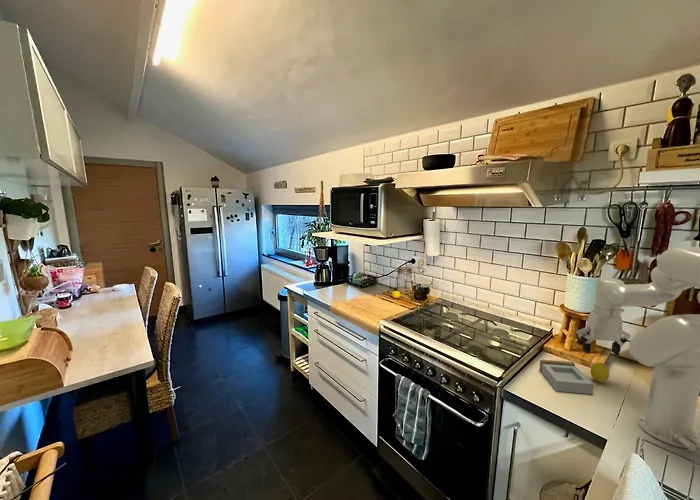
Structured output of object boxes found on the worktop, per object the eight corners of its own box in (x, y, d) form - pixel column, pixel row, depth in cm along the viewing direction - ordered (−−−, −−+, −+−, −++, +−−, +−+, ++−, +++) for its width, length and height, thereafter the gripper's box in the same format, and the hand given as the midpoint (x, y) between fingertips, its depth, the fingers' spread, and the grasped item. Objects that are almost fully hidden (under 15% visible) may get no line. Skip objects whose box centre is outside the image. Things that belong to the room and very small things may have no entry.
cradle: (592, 394, 106) (593, 384, 106) (556, 390, 109) (557, 381, 108) (574, 375, 118) (575, 366, 117) (541, 372, 120) (542, 363, 120)
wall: (573, 375, 118) (575, 364, 118) (541, 372, 121) (542, 361, 120) (571, 373, 120) (572, 361, 119) (539, 370, 122) (540, 359, 121)
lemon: (612, 386, 111) (614, 366, 110) (597, 386, 111) (599, 366, 110) (600, 377, 117) (602, 359, 115) (586, 377, 117) (588, 359, 115)
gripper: (626, 308, 112) (619, 349, 115) (575, 306, 115) (570, 346, 118) (641, 316, 104) (633, 359, 108) (586, 313, 107) (580, 356, 111)
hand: (600, 352), depth 113 cm, fingers open, 9 cm apart
